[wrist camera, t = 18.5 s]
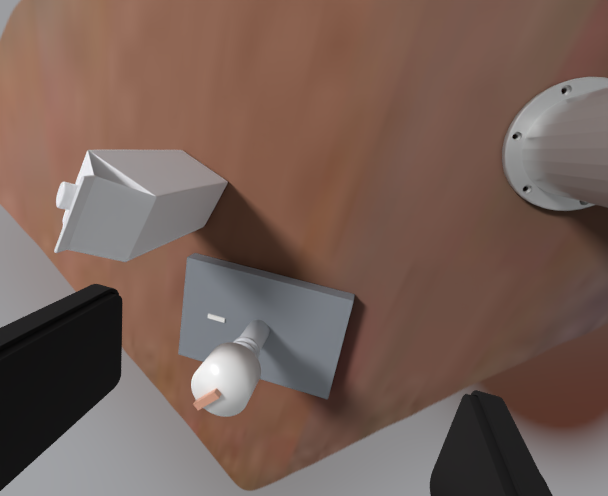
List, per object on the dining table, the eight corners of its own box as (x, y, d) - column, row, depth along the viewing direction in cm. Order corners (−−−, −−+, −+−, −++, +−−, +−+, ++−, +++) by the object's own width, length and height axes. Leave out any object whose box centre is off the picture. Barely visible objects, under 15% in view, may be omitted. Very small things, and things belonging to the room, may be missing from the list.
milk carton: (229, 181, 43) (123, 204, 25) (204, 227, 45) (91, 278, 27) (182, 149, 43) (42, 148, 25) (160, 196, 45) (18, 227, 27)
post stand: (354, 294, 43) (349, 334, 34) (329, 389, 48) (318, 448, 38) (194, 252, 46) (148, 279, 37) (185, 346, 51) (142, 391, 41)
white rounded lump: (237, 332, 36) (219, 357, 32) (272, 375, 37) (258, 406, 32) (199, 357, 38) (176, 384, 34) (232, 398, 39) (214, 429, 34)
